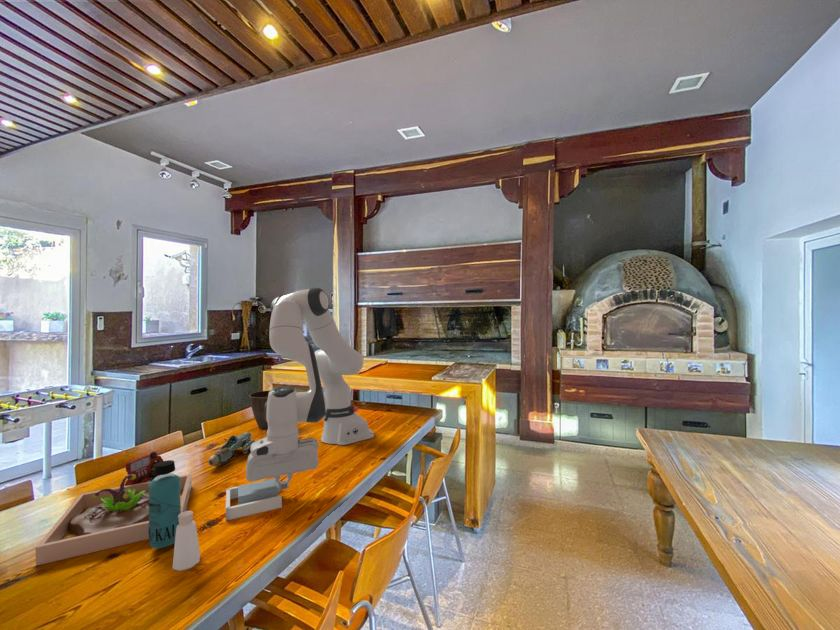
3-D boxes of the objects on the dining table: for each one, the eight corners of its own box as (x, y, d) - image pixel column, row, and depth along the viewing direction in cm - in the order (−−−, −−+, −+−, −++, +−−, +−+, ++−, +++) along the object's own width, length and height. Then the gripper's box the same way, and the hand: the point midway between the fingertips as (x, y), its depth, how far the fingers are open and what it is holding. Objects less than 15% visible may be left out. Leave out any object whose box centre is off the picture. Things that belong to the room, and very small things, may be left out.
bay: (276, 488, 116) (276, 478, 116) (281, 507, 105) (281, 496, 105) (226, 498, 110) (226, 488, 110) (225, 520, 98) (225, 509, 98)
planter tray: (191, 486, 118) (191, 474, 118) (181, 531, 94) (180, 515, 94) (80, 508, 106) (80, 494, 106) (35, 565, 81) (35, 547, 81)
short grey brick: (277, 492, 113) (277, 478, 113) (280, 502, 107) (279, 487, 107) (238, 501, 108) (237, 486, 108) (238, 512, 102) (238, 496, 102)
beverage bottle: (159, 539, 91) (157, 457, 90) (188, 537, 91) (186, 456, 91) (141, 556, 84) (140, 469, 84) (172, 554, 85) (170, 467, 84)
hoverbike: (261, 446, 153) (260, 426, 153) (222, 472, 128) (222, 449, 128) (239, 445, 154) (238, 425, 154) (196, 471, 129) (196, 448, 129)
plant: (181, 510, 104) (180, 471, 104) (93, 550, 87) (92, 502, 87) (146, 493, 114) (146, 457, 114) (61, 525, 97) (60, 483, 97)
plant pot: (276, 431, 171) (275, 397, 171) (244, 432, 171) (243, 397, 171) (288, 422, 186) (287, 390, 186) (258, 422, 186) (257, 390, 186)
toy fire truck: (173, 479, 123) (173, 448, 123) (137, 498, 111) (136, 463, 111) (156, 477, 125) (156, 446, 125) (119, 495, 113) (118, 461, 113)
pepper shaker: (192, 570, 79) (191, 519, 79) (166, 572, 79) (165, 520, 79) (205, 553, 85) (204, 506, 85) (180, 555, 84) (179, 507, 84)
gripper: (316, 433, 118) (316, 476, 118) (245, 445, 109) (245, 492, 109) (320, 439, 113) (321, 485, 113) (246, 452, 103) (246, 501, 103)
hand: (283, 488), depth 111 cm, fingers closed
